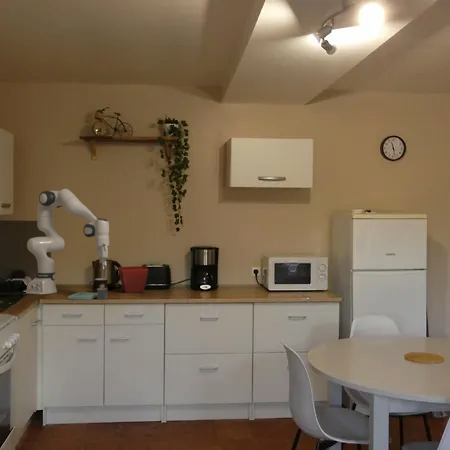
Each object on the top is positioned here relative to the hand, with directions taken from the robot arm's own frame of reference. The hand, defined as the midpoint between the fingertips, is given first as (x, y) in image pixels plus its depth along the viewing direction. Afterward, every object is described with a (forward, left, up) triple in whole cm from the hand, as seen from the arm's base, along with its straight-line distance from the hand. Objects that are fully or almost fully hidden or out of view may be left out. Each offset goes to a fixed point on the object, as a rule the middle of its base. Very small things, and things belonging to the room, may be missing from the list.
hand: (102, 263), depth 370 cm
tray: (-13, +1, -23) cm, 27 cm away
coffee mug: (-10, +19, -23) cm, 32 cm away
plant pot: (+10, +32, -23) cm, 41 cm away
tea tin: (0, 0, -23) cm, 23 cm away
